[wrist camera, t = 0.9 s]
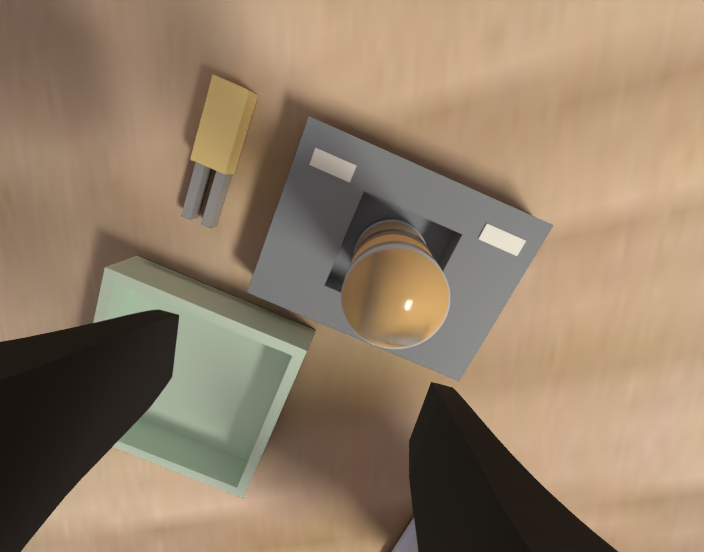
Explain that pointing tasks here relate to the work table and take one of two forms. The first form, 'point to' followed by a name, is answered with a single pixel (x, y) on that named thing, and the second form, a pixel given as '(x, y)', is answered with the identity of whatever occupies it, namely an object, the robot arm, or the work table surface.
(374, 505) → the work table surface
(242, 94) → the puller tool
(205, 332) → the parts tray
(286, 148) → the work table surface
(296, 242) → the fuse block
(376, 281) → the fuse
